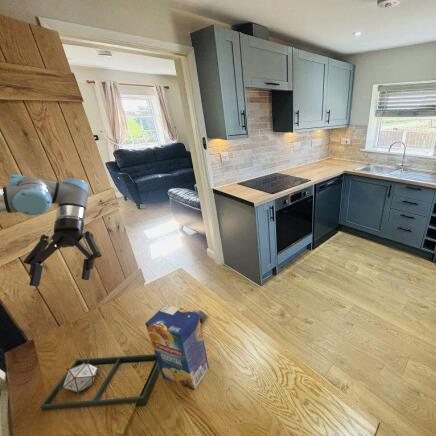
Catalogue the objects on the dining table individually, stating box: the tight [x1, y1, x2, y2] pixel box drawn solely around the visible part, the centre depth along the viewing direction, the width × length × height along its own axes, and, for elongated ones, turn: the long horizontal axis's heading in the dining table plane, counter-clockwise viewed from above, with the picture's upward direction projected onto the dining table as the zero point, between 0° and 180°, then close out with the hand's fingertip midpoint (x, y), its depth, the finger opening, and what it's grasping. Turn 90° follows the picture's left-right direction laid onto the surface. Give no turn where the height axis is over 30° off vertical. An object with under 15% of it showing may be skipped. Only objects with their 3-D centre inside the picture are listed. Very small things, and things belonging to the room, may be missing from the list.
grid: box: [39, 353, 161, 412], centre depth 73 cm, size 27×14×4 cm, turn 95°
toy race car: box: [179, 307, 207, 325], centre depth 93 cm, size 10×15×6 cm, turn 69°
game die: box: [59, 360, 101, 396], centre depth 71 cm, size 9×8×10 cm
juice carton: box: [145, 304, 210, 391], centre depth 72 cm, size 12×8×24 cm, turn 72°
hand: (60, 282), depth 76 cm, fingers open, 13 cm apart
